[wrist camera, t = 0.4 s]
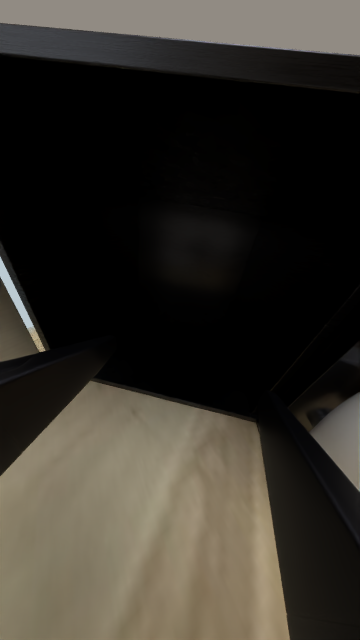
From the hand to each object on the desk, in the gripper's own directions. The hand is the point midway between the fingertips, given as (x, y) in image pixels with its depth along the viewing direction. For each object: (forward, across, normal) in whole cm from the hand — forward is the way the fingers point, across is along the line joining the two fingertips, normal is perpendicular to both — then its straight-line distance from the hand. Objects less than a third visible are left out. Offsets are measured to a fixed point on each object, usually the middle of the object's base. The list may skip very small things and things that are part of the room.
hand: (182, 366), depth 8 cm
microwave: (+23, +2, +15) cm, 28 cm away
